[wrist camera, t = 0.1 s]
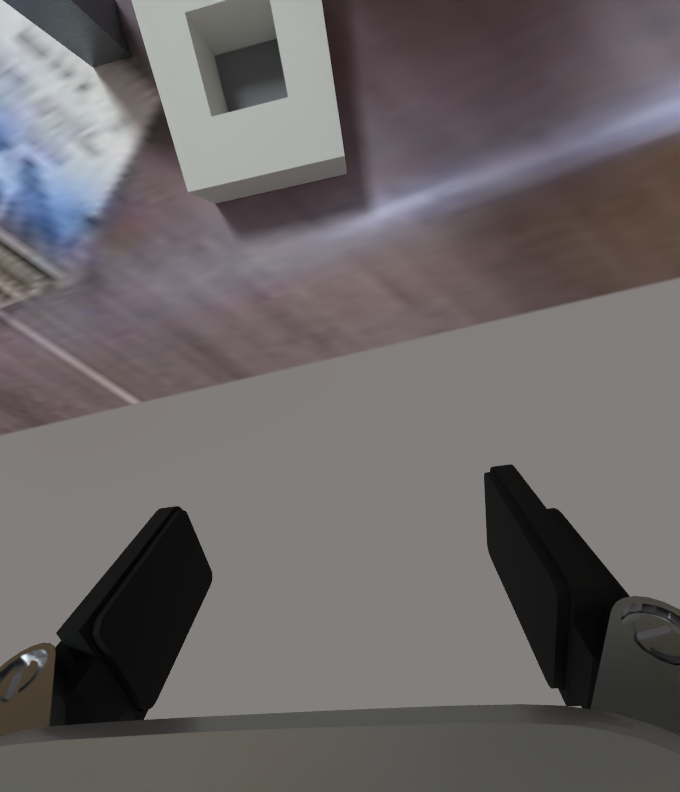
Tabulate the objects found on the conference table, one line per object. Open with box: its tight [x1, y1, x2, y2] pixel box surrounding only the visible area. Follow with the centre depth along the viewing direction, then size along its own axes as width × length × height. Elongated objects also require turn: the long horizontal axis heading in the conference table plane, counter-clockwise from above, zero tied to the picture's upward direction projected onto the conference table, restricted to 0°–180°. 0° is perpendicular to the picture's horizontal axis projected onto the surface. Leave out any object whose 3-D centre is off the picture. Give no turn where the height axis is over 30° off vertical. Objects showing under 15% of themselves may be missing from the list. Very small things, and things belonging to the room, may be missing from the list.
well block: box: [132, 0, 347, 204], centre depth 29 cm, size 16×14×6 cm
